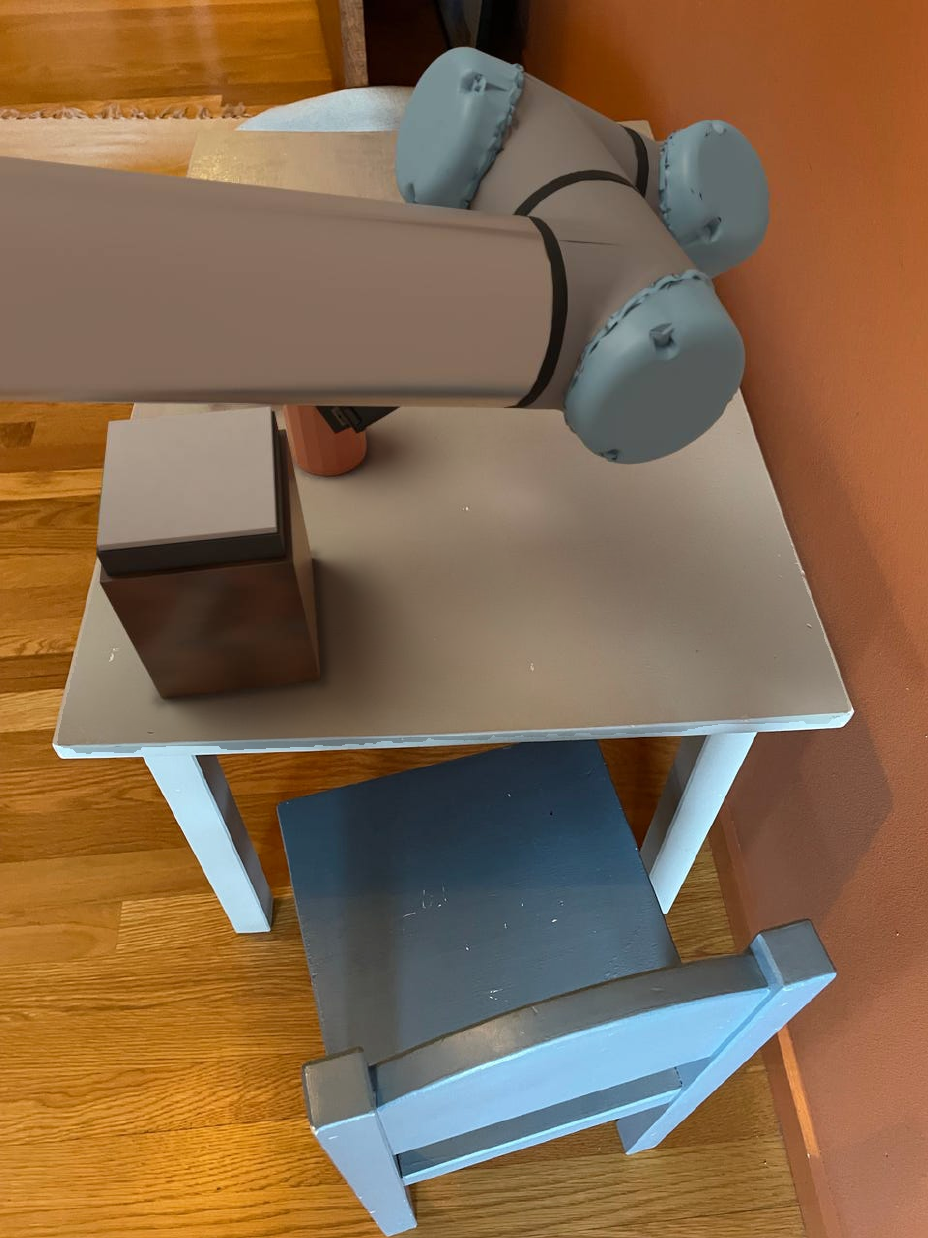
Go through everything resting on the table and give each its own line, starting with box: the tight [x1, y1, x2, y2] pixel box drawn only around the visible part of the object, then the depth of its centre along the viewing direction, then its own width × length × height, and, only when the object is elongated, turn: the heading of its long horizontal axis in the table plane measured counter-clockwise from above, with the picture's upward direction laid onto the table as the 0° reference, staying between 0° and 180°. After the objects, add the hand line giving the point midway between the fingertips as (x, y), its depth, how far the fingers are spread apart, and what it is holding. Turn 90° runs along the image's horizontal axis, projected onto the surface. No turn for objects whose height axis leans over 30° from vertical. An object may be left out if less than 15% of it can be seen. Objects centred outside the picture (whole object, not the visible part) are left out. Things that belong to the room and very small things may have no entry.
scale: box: [95, 406, 286, 575], centre depth 64 cm, size 12×12×3 cm
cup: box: [281, 405, 368, 477], centre depth 85 cm, size 7×7×12 cm
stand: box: [99, 428, 321, 699], centre depth 72 cm, size 13×13×16 cm
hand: (381, 372), depth 77 cm, fingers open, 13 cm apart
